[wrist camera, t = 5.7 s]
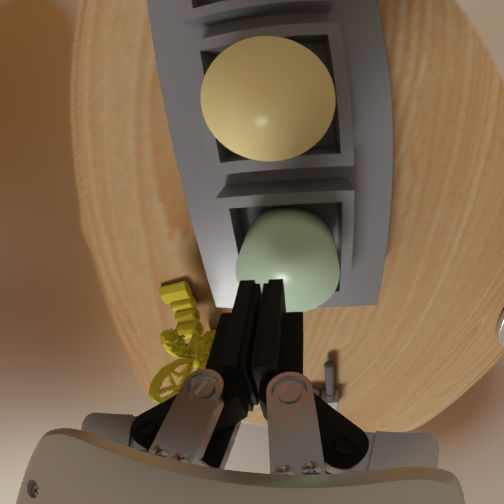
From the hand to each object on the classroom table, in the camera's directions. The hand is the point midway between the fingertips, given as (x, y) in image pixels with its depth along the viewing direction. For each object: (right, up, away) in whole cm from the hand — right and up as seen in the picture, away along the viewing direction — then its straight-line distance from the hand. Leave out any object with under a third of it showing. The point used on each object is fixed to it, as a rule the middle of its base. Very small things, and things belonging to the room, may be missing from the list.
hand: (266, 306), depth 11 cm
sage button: (+2, +2, +4) cm, 5 cm away
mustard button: (0, +9, 0) cm, 9 cm away
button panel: (+1, +12, +4) cm, 12 cm away
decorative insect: (-5, -5, +16) cm, 18 cm away
